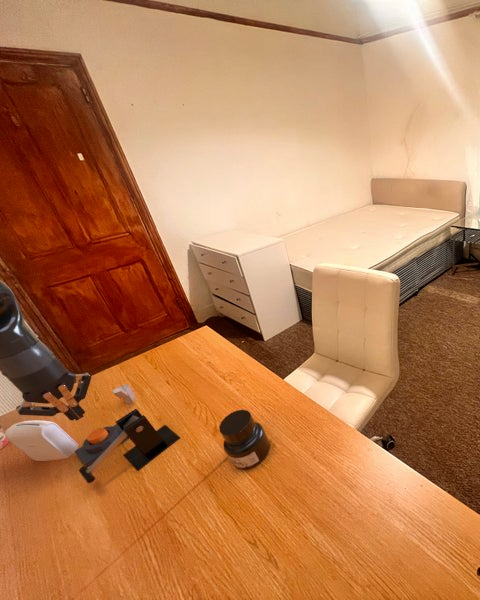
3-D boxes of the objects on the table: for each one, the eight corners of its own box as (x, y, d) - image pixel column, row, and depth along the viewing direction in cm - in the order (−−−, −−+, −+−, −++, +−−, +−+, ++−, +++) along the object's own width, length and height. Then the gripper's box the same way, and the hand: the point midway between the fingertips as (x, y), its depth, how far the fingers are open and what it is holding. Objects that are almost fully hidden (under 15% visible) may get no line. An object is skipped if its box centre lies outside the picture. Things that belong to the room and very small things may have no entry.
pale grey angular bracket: (128, 396, 96) (114, 378, 92) (135, 393, 97) (121, 375, 93) (127, 411, 91) (112, 392, 87) (134, 408, 92) (119, 389, 87)
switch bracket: (139, 473, 74) (112, 443, 68) (125, 457, 78) (98, 428, 72) (181, 439, 81) (160, 410, 75) (167, 427, 85) (145, 398, 79)
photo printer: (31, 463, 78) (-6, 433, 72) (47, 447, 82) (13, 417, 76) (69, 461, 78) (36, 431, 72) (84, 446, 82) (53, 415, 75)
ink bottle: (223, 463, 75) (203, 432, 69) (249, 432, 82) (233, 402, 75) (254, 475, 72) (236, 444, 65) (279, 442, 79) (265, 411, 72)
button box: (89, 469, 76) (79, 460, 74) (79, 456, 79) (69, 447, 77) (135, 437, 83) (127, 428, 81) (124, 426, 86) (116, 417, 84)
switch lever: (93, 484, 68) (82, 482, 66) (85, 473, 70) (74, 470, 69) (148, 424, 75) (139, 421, 73) (138, 416, 77) (130, 412, 75)
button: (94, 447, 77) (89, 442, 76) (88, 440, 79) (84, 436, 78) (111, 435, 80) (107, 431, 79) (105, 429, 81) (101, 425, 80)
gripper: (64, 341, 72) (105, 392, 81) (-20, 378, 63) (37, 431, 72) (75, 351, 69) (117, 404, 78) (-12, 392, 59) (47, 446, 68)
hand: (78, 417), depth 75 cm, fingers closed
